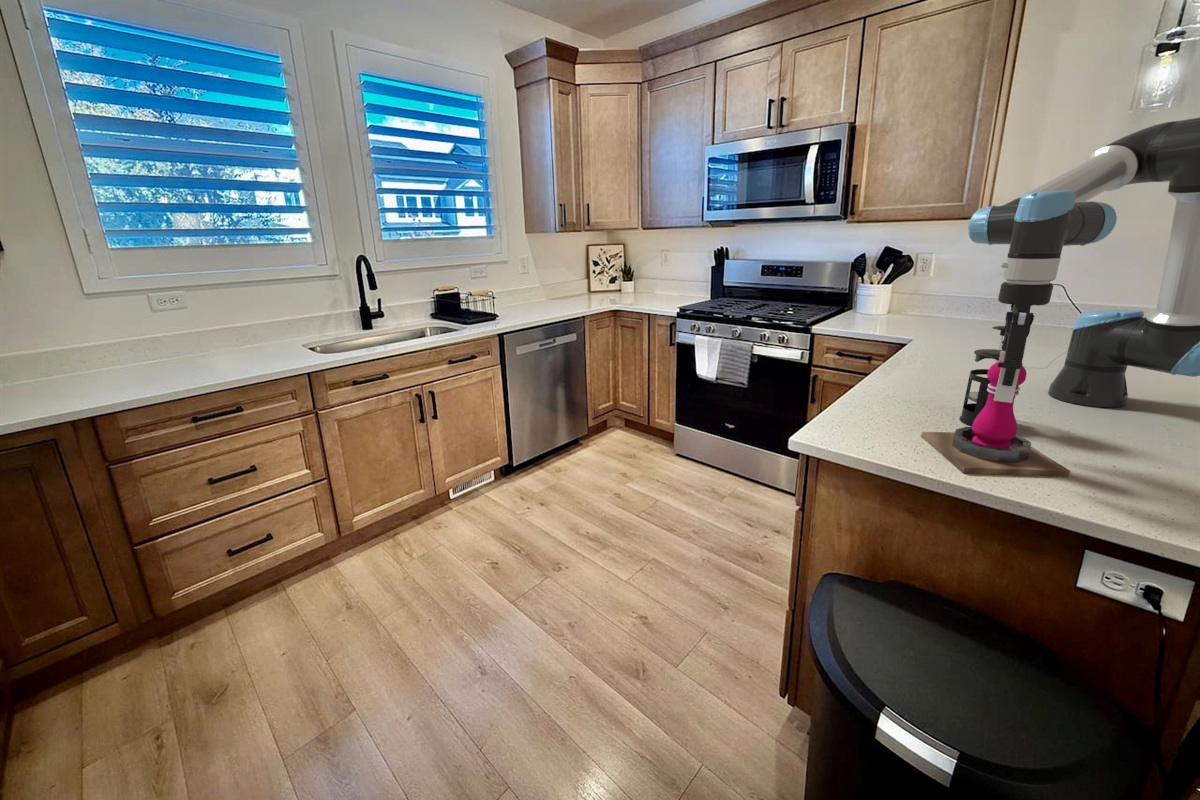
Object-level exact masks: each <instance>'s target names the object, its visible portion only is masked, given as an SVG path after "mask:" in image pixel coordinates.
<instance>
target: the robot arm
mask: <svg viewBox="0 0 1200 800" xmlns="http://www.w3.org/2000/svg"><path fill="white" fill-rule="evenodd" d="M1160 182H1161V183H1163V182H1165V183H1166V182H1169V183H1168V189H1167V194H1169V195H1170V196H1172V197H1174V198H1175V199H1176V201H1175V202H1176V203H1175V208H1174V213H1173V218H1172V224H1171V229H1170V234H1169V238H1168V239H1169V240H1168V245H1167V250H1166V257H1165V259H1164V260H1165V261H1164V265H1163V270H1162V271H1163V272H1162V276H1161V277H1162V278H1161V282H1160V288H1159V293H1158V298H1157V303H1156V307H1155V309H1152V310H1151V311H1149V312H1148V313H1146V315H1145V313H1144V311H1143V310H1141V309H1140V310H1139V309H1104V310H1103V309H1100V310H1089V311H1084V312H1082V313H1080V314H1078V316H1077V317H1076V321H1075V323H1074V326H1073V328H1072V333H1071V337H1070V341H1069V344H1068V348H1067V353H1066V356H1065V361H1064V365H1063V366H1062V368H1061V370H1060V371H1058V372H1059V373H1057V375H1056V376H1055V378H1054V379H1053V381H1052V382H1051V383H1050V384H1049V388H1048V390H1047V394H1048V395H1049V396H1050V397H1052V398H1053V399H1056V400H1059V401H1062V402H1067V403H1070V404H1071V403H1072V404H1076V405H1080V406H1087V407H1095V408H1096V407H1097V408H1121V407H1124V406H1125V405H1127V401H1128V398H1129V393H1128V386H1127V379H1126V371H1127V368H1128V366H1129V367H1135V368H1139V369H1144V370H1145V369H1146V370H1149V371H1154V372H1160V373H1165V374H1166V373H1167V374H1171V375H1173V376H1176V375H1178V376H1184V377H1185V376H1187V377H1194V378H1195V377H1200V117H1193V118H1188V119H1183V120H1174V121H1166V122H1163V123H1159V124H1155V125H1151V126H1149V127H1144V128H1143V129H1139V130H1137V131H1135V132H1132V133H1129V134H1128V135H1126V136H1123V137H1121V138H1119V139H1117V140H1114V141H1113V142H1110V143H1108V144H1106V145H1104V146H1103V147H1101V148H1099V149H1097V150H1095V151H1094V152H1093V153H1091V154H1090V155H1089V157H1088V158H1087V159H1086V160H1085V161H1084V162H1082V163H1081V164H1079V165H1077V166H1075V167H1073V168H1071V169H1069V170H1067V171H1066V172H1063V173H1061V174H1059V175H1058V176H1056V177H1054V178H1052V179H1051V180H1048V181H1047V182H1045V183H1043V184H1041V185H1039V186H1038V187H1035V188H1033V189H1032V190H1029V191H1028V192H1026V193H1024V194H1022V195H1021V196H1018V197H1017V198H1015V199H1013V200H1011V201H1009V202H1007V203H1005V204H1003V205H990V206H984V207H981V208H979V209H977V210H976V211H975V212H974V213H973V214H972V216H971V218H970V220H969V222H968V227H967V228H968V229H967V230H968V237H969V239H970V240H971V241H972V242H973V243H975V244H983V245H989V246H990V245H991V246H992V245H1009V249H1008V252H1007V256H1006V257H1007V258H1006V262H1002V263H1001V264H1000V265H1001V266H1000V267H1001V268H1002V269H1004V271H1003V276H1002V279H1003V280H1005V281H1003V282H1002V283H1001V284H1000V289H999V292H998V298H997V299H998V300H997V301H998V302H999V303H1001V304H1005V305H1010V311H1007V312H1006V314H1005V319H1004V321H1005V323H1004V326H1005V330H1006V332H1005V336H1003V340H1002V344H1001V350H1005V351H1001V353H1000V357H999V361H998V362H1001V361H1004V362H1003V363H998V366H997V367H1000V368H1001V370H1000V374H999V379H998V383H997V388H996V392H995V397H994V401H1001V402H1009V403H1012V401H1013V397H1014V393H1015V388H1016V384H1017V380H1018V376H1019V371H1020V368H1021V367H1022V366H1023V359H1024V356H1025V355H1024V354H1025V349H1026V343H1027V340H1028V337H1029V335H1030V332H1031V325H1032V324H1033V322H1034V320H1035V319H1034V318H1035V315H1034V312H1031V307H1032V306H1044V305H1048V304H1049V303H1050V301H1051V297H1052V293H1053V290H1054V285H1053V283H1051V282H1053V281H1055V280H1056V279H1057V275H1058V271H1059V267H1060V262H1061V259H1062V258H1061V257H1062V256H1061V255H1062V251H1063V248H1064V246H1067V247H1068V246H1082V247H1083V246H1086V245H1089V244H1095V243H1098V242H1100V241H1101V240H1102V241H1103V239H1105V238H1106V237H1107V236H1109V235H1110V234H1111V233H1112V231H1113V230H1114V228H1115V227H1116V225H1117V219H1118V218H1117V217H1118V216H1117V213H1116V210H1115V209H1114V208H1113V206H1112V205H1110V204H1109V203H1105V202H1099V201H1098V202H1097V201H1096V200H1093V201H1089V200H1091V199H1094V198H1095V197H1096V196H1099V195H1100V194H1102V193H1104V192H1110V191H1111V192H1112V191H1115V190H1118V189H1121V188H1122V187H1124V186H1127V185H1135V184H1142V183H1143V184H1144V183H1160ZM1011 360H1013V361H1011Z"/></svg>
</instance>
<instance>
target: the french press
mask: <svg viewBox="0 0 1200 800" xmlns="http://www.w3.org/2000/svg"><path fill="white" fill-rule="evenodd" d="M992 329H993V330H997V331H1000V333H999V336H1001V337H1000V341H999V345H998V349H996V348H995V349H994V348H993V349H992V348H991V349H990V348H987V349H985V348H981V349H975V350H974V352H973V354H975V358H974V361H975V363H978V362H980V361H983V360H984V359H986V360H987V359H992V360H995V363H997V362H999V357H1000V353H1001V351H1005V350H1002V348H1001V347H1002V341H1003V340H1004V336H1005V332H1006V330H1005V325H997V326H996V325H995V326H993V327H992ZM995 363H994V364H995ZM988 370H989V368H988V369H986V368H980V369H978V368H977V369H972V370H969V371H970V372H969V375H968V376H969V377H968V381H967V386H966V390H965V396H964V401H963V406H962V410H961V415H960V416H959V417H958V418H959V421H960V422H961V423H963V424H965V425H966V426H968V427H972V425H973V422H974V420H975V418H976V417H977V415H978V414H979V413H980V412H981V411H982V409H983V408H984V407H985V405H986V403H987V400H988V396H989V392H988V391H987V389H988V384H990V383H991V382H990V381H989V379H988V378H987V377H985V376H984V377H983V376H981V375H986V376H987V373H988ZM979 375H980V376H979ZM973 381H974V382H977V383H979V384H980V385H979V388H978V391H971V388H972V387H971V386H972V382H973ZM969 400H970V401H971V402H973V403H968V402H969ZM974 402H975V403H974Z"/></svg>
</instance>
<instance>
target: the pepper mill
mask: <svg viewBox="0 0 1200 800" xmlns="http://www.w3.org/2000/svg"><path fill="white" fill-rule="evenodd" d="M1011 361H1013V360H1011ZM1003 362H1004V361H1001V362H999V361H998V362H997V363H993V364H991V366H989V368H988V369H989V370H988V373H987V375H986V376H987V377H986V378H988V379H989V381H990V382H991V383H990V384H988V389H987V391H988V392H989V396H988V400H987V403H986V405H985V407H984V408H983V409H982V411H981V412H980V413H979V414H978V415H977V417H976V418H975V420H974V422H973V425H972V426H971V427H972V430H973V432H974V433H975V435H976V436H974V437H973V438H972V442H975V443H978V444H981V445H985V446H990V447H996V448H1010V443H1009V442H1008V441H1010V440H1012V439H1013V438H1014V437H1015V436H1016V435H1018V434H1017V432H1018V425H1017V424H1018V423H1017V420H1016V417H1015V412H1014V401H1015V398H1016V397H1017V396H1019V394H1020V392H1019V391H1021V388H1020V387H1019V386H1020V385H1022V384H1023V383H1024V382H1025V381H1026V379H1027V369H1026V368H1025V366H1023V365H1022V367H1021V368H1020V371H1019V376H1018V380H1017V384H1016V388H1015V393H1014V397H1013V401H1012V403H1009V402H1001V401H994V397H995V392H996V388H997V383H998V379H999V374H1000V370H1001V368H1000V367H997V366H998V363H1003Z"/></svg>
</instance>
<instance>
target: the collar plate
mask: <svg viewBox="0 0 1200 800" xmlns="http://www.w3.org/2000/svg"><path fill="white" fill-rule="evenodd" d="M954 434H955V431H954V432H953V431H952V432H951V431H949V432H948V431H947V432H946V431H945V432H944V431H922V432H921V434H920V435H921V436H920V437H921V438H922V439H923V440H924V441H926V442H927V443H928V444H929V445H930V446H931V447H932V448H934V450H936V451H937V452H938V453H939V454H941V456H942V457H944V458H945V459H946V460H947V461H948V462H950V463H951V464H952V465H953V467H955V468H956V469H958V470H959V471H960V472H961V473H962V474H974V475H976V474H977V475H978V474H979V475H981V474H982V475H1004V476H1007V475H1008V476H1009V475H1010V476H1013V475H1015V476H1037V477H1038V476H1043V477H1069V476H1070V473H1071V470H1070V469H1068V468H1066V467H1065V466H1063V465H1062V464H1060V463H1058V462H1057V461H1056V460H1054V459H1052V458H1051V457H1049V456H1047V455H1046V454H1044V453H1043V452H1040V450H1038V449H1036V448H1035V447H1034V446H1031V450H1030V454H1029V458H1028V460H1025V461H1022V462H1018V463H1002V462H993V461H988V460H983V459H978V458H975V457H972V456H970V455H967V454H964V453H962V452H960V451H958V450H957V449H956V448H955V447H953V446H952V443H953V438H954ZM969 441H972V440H969ZM1010 448H1012V447H1010Z"/></svg>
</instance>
